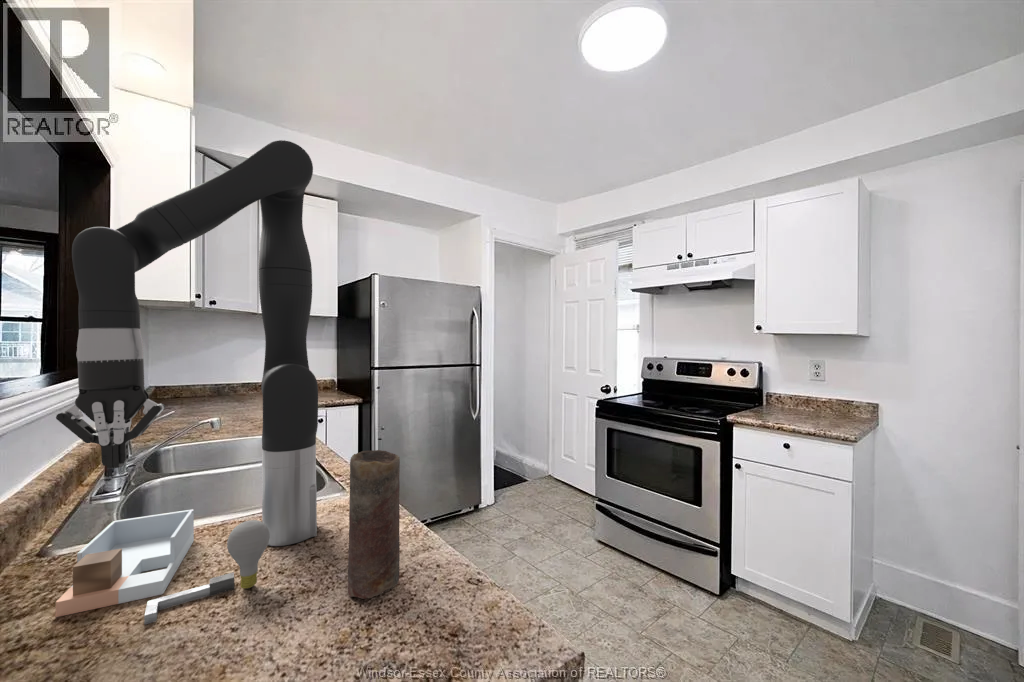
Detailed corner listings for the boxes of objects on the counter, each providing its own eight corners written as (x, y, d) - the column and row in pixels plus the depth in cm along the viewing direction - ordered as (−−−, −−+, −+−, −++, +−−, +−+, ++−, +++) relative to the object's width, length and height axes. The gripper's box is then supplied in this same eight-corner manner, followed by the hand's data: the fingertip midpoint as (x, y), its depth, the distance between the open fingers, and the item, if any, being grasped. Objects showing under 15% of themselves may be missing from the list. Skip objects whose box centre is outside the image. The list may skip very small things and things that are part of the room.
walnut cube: (121, 574, 63) (121, 548, 63) (110, 588, 60) (110, 560, 60) (86, 581, 62) (86, 554, 62) (72, 596, 58) (72, 567, 58)
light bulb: (278, 581, 65) (277, 516, 65) (245, 601, 60) (245, 531, 60) (252, 575, 67) (251, 512, 67) (218, 594, 61) (218, 526, 62)
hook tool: (233, 583, 64) (233, 572, 64) (235, 597, 61) (235, 584, 61) (147, 608, 58) (147, 595, 58) (144, 624, 55) (144, 611, 55)
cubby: (193, 541, 79) (193, 509, 79) (162, 594, 62) (162, 553, 62) (113, 555, 74) (113, 520, 74) (55, 617, 57) (55, 572, 57)
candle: (386, 569, 68) (385, 446, 68) (410, 587, 63) (409, 454, 63) (339, 589, 63) (338, 455, 63) (361, 610, 57) (360, 464, 58)
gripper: (171, 355, 72) (174, 455, 72) (66, 359, 66) (70, 468, 66) (157, 356, 66) (161, 466, 66) (39, 360, 60) (44, 481, 60)
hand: (115, 467), depth 66 cm, fingers closed
